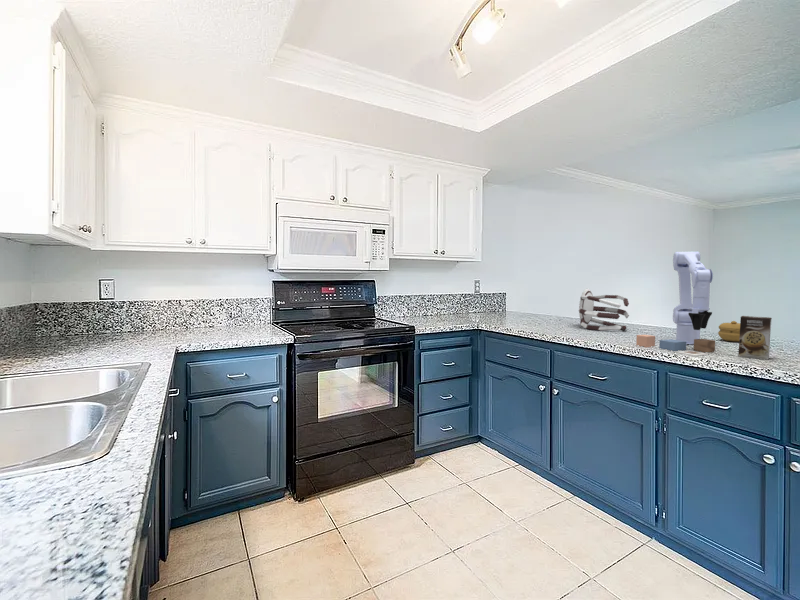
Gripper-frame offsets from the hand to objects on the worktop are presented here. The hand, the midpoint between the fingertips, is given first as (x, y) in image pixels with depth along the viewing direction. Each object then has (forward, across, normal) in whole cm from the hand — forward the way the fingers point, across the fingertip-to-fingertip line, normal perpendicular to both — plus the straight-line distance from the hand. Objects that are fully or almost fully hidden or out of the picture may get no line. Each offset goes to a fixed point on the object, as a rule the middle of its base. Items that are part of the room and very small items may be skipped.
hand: (699, 329), depth 172 cm
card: (+10, +9, 0) cm, 13 cm away
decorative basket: (+10, -40, -61) cm, 73 cm away
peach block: (+10, +4, -19) cm, 22 cm away
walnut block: (+10, -1, +2) cm, 10 cm away
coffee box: (+10, -1, +18) cm, 20 cm away
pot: (+10, -42, +3) cm, 43 cm away
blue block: (+10, +4, -9) cm, 14 cm away
